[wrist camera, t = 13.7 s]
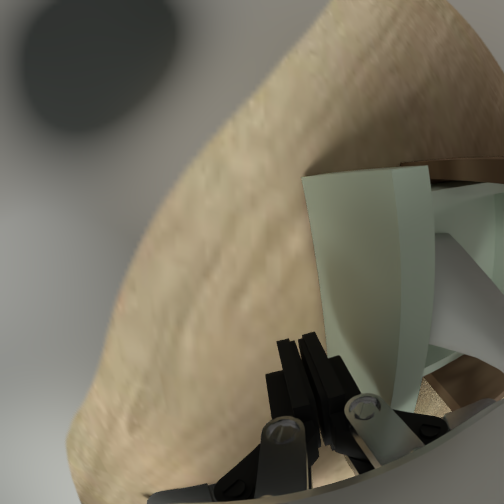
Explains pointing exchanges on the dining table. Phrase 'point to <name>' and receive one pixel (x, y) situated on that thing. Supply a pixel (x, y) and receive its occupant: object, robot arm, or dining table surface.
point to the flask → (466, 305)
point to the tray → (394, 267)
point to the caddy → (465, 367)
